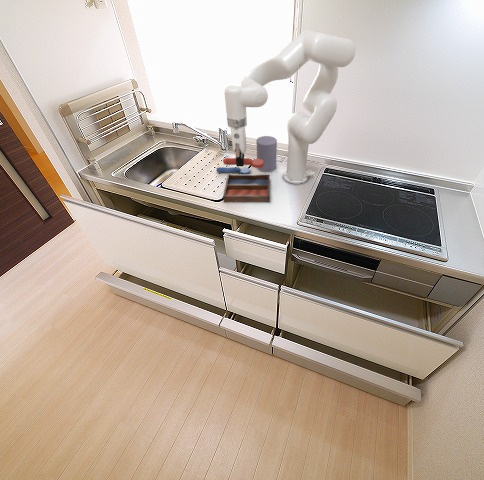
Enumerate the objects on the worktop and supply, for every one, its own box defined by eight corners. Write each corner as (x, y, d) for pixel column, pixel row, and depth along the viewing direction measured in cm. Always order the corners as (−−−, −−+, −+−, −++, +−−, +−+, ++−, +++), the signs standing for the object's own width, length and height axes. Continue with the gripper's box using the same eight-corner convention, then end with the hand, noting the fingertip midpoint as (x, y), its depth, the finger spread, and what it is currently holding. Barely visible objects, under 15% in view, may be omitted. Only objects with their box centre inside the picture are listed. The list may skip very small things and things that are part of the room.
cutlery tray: (269, 180, 132) (269, 174, 130) (269, 202, 119) (269, 196, 117) (228, 180, 132) (227, 174, 130) (224, 202, 119) (223, 196, 117)
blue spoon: (250, 169, 139) (250, 165, 137) (250, 175, 135) (249, 170, 133) (217, 169, 139) (216, 164, 137) (216, 175, 135) (215, 170, 133)
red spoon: (263, 161, 116) (263, 155, 114) (263, 168, 112) (263, 162, 110) (224, 161, 116) (223, 155, 114) (222, 167, 112) (221, 161, 110)
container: (272, 173, 137) (273, 146, 126) (254, 170, 139) (253, 143, 128) (278, 164, 144) (279, 137, 133) (261, 161, 146) (260, 134, 135)
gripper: (245, 130, 95) (247, 174, 108) (248, 113, 107) (250, 155, 120) (224, 129, 95) (229, 173, 108) (229, 113, 107) (233, 155, 120)
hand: (240, 163), depth 114 cm, fingers closed on red spoon, 2 cm apart
